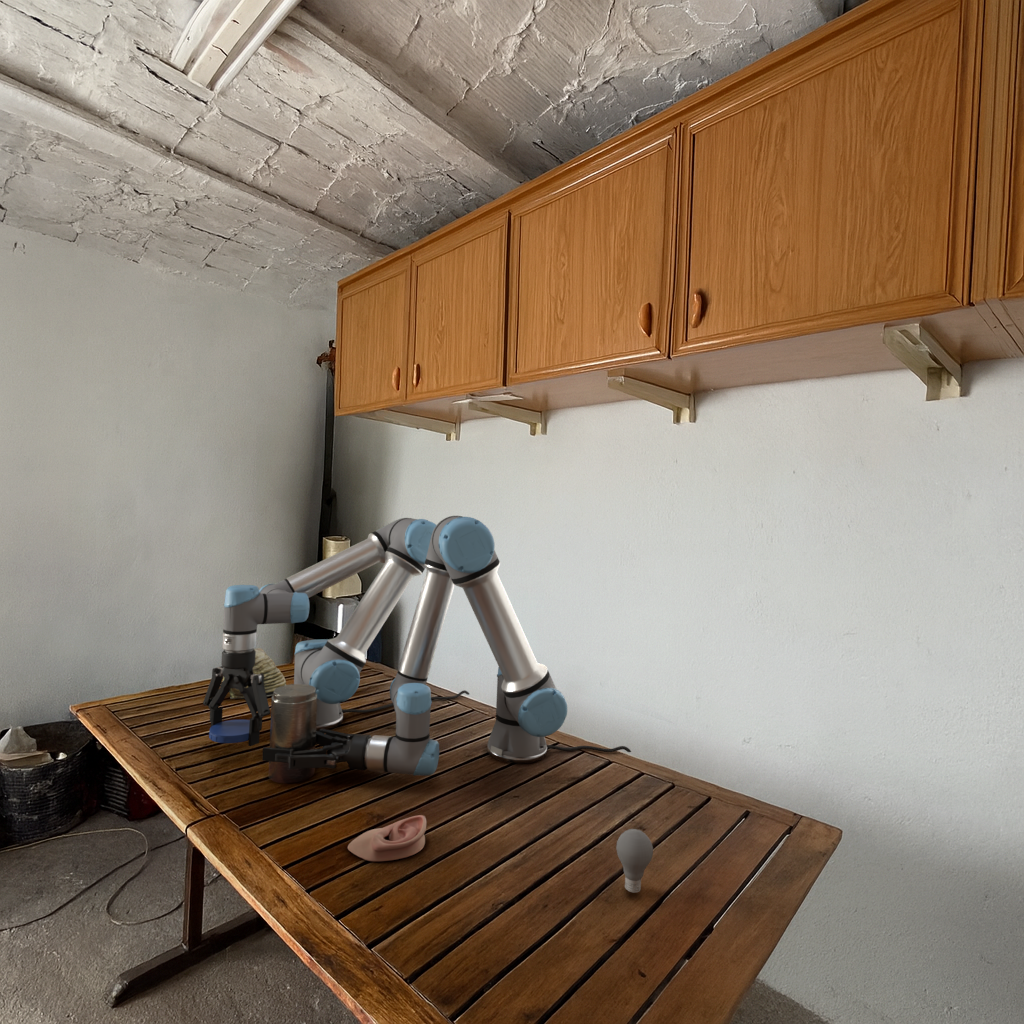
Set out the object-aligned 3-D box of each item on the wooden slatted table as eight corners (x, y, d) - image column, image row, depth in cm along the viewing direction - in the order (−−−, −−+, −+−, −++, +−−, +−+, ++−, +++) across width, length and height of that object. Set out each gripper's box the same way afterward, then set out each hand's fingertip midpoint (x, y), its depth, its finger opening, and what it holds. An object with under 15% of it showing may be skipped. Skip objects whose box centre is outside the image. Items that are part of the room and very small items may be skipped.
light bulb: (610, 879, 108) (613, 822, 108) (644, 879, 109) (647, 822, 109) (619, 902, 102) (622, 840, 102) (655, 901, 103) (658, 840, 103)
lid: (259, 741, 150) (259, 733, 150) (206, 745, 146) (207, 737, 146) (259, 724, 160) (260, 718, 160) (210, 728, 156) (211, 721, 156)
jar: (260, 773, 143) (263, 689, 143) (299, 760, 151) (302, 680, 151) (283, 787, 137) (287, 699, 137) (323, 773, 145) (326, 690, 144)
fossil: (218, 695, 195) (220, 647, 195) (278, 685, 208) (279, 640, 207) (228, 703, 189) (230, 653, 188) (289, 692, 201) (290, 645, 201)
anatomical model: (340, 834, 112) (368, 804, 123) (339, 856, 112) (367, 824, 123) (411, 845, 109) (433, 813, 120) (410, 868, 109) (432, 834, 120)
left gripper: (189, 646, 154) (185, 735, 154) (266, 659, 145) (261, 754, 145) (214, 640, 161) (209, 726, 161) (289, 653, 152) (284, 743, 153)
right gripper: (351, 792, 131) (248, 782, 133) (383, 749, 154) (295, 742, 156) (352, 756, 131) (250, 747, 133) (385, 719, 153) (296, 712, 156)
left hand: (234, 739), depth 153 cm, fingers closed on lid, 11 cm apart
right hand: (274, 744), depth 144 cm, fingers closed on jar, 10 cm apart
